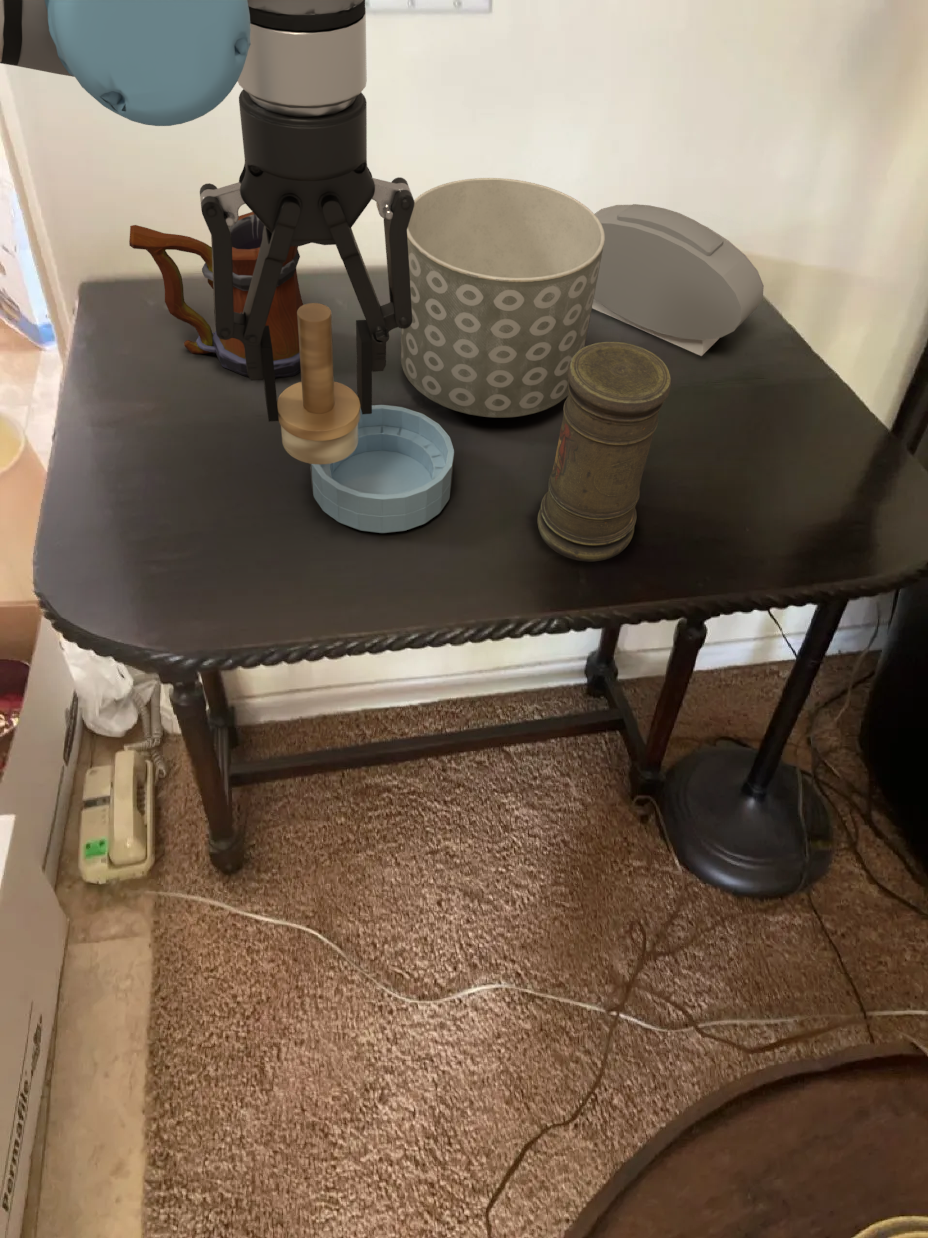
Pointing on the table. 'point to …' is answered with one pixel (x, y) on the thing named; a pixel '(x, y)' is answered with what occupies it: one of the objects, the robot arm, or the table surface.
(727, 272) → the alarm clock
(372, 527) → the bowl
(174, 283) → the mug
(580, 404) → the container
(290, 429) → the brush
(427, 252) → the planter
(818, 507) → the table surface
